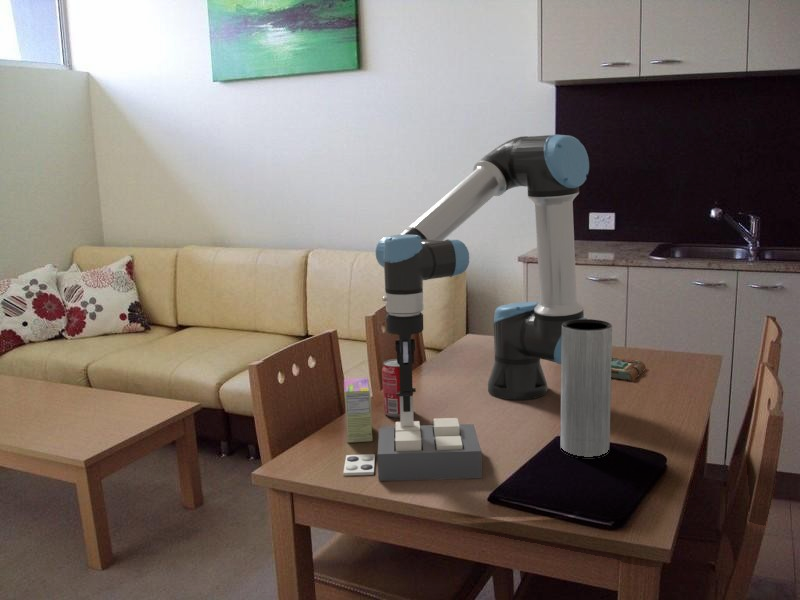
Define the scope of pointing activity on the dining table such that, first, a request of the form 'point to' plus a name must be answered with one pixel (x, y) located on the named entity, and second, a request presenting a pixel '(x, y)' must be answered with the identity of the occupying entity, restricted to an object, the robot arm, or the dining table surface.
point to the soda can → (391, 388)
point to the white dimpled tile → (359, 465)
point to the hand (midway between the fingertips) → (407, 424)
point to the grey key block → (429, 457)
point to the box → (358, 410)
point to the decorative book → (626, 368)
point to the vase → (585, 387)
